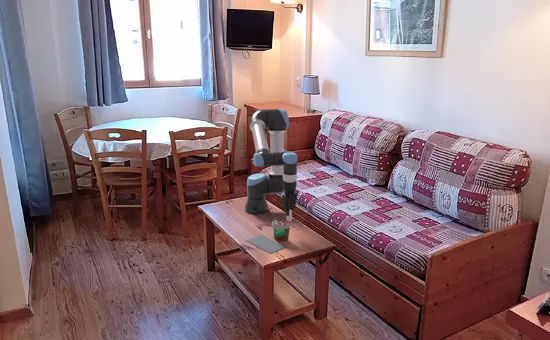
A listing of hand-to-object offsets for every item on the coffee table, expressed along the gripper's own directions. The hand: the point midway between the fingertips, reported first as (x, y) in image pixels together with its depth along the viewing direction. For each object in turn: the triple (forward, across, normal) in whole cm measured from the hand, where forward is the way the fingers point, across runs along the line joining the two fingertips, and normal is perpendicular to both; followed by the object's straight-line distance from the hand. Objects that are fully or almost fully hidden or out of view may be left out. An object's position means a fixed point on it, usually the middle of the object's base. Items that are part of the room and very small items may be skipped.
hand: (288, 220), depth 244 cm
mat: (+9, +17, 0) cm, 20 cm away
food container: (+9, +8, 0) cm, 12 cm away
